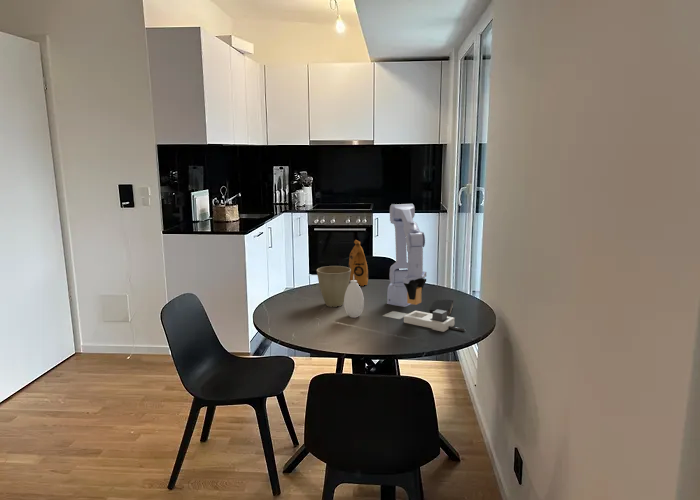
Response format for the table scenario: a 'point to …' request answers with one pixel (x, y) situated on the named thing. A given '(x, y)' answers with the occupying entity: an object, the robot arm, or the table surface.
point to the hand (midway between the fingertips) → (414, 297)
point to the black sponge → (442, 306)
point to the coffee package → (358, 265)
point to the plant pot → (333, 284)
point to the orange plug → (417, 297)
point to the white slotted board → (430, 321)
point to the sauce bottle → (354, 299)
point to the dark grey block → (439, 315)
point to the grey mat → (395, 315)
